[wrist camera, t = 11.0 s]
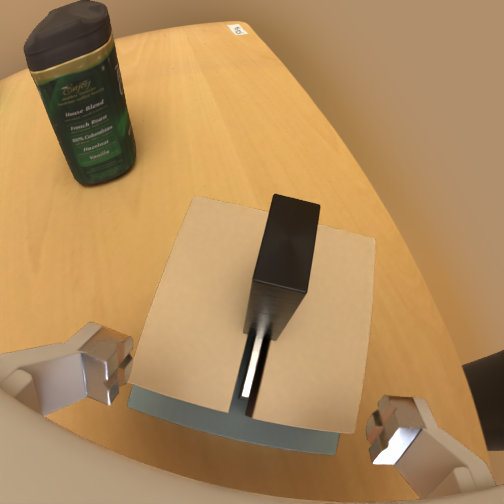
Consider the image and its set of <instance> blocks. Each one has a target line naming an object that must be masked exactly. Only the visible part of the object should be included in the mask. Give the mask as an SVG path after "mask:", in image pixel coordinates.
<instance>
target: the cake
mask: <svg viewBox="0 0 504 504" xmlns="http://www.w3.org/2000/svg"><path fill="white" fill-rule="evenodd" d="M268 214H269V212H268V211H264V210H259V209H255V208H250V207H246V206H242V205H237V204H233V203H228V202H224V201H219V200H214V199H210V198H205V197H200V196H195V195H194V197H193V199H192V201H191V204H190V206H189V209H188V211H187V213H186V216H185V218H184V221H183V223H182V226H181V228H180V231H179V233H178V236H177V238H176V241H175V243H174V246H173V248H172V251H171V253H170V256H169V258H168V261H167V264H166V266H165V269H164V272H163V274H162V277H161V280H160V282H159V285H158V288H157V291H156V293H155V296H154V299H153V302H152V305H151V307H150V310H149V313H148V316H147V319H146V322H145V325H144V328H143V331H142V334H141V337H140V340H139V343H138V346H137V349H136V352H135V355H134V358H133V366H132V371H131V374H130V377H129V379H128V381H127V382H128V383H131V384H133V387H132V390H131V394H130V397H129V401H128V404H127V407H129V408H131V409H134V410H137V411H139V412H142V413H145V414H148V415H151V416H154V417H156V418H159V419H162V420H166V421H169V422H172V423H175V424H178V425H181V426H185V427H188V428H192V429H195V430H199V431H202V432H206V433H210V434H214V435H218V436H222V437H226V438H230V439H234V440H239V441H243V442H248V443H253V444H258V445H263V446H268V447H274V448H280V449H286V450H293V451H300V452H307V453H315V454H324V455H335V453H336V449H337V445H338V440H339V435H340V433H346V434H354V433H355V428H356V423H357V417H358V412H359V406H360V401H361V395H362V388H363V382H364V375H365V368H366V361H367V353H368V345H369V336H370V327H371V316H372V305H373V292H374V276H375V254H376V239H375V238H371V237H368V236H364V235H360V234H356V233H352V232H349V231H345V230H341V229H337V228H333V227H329V226H325V225H321V224H318V228H317V235H316V242H315V249H314V255H313V262H312V268H311V274H310V280H309V286H308V292H307V294H306V296H305V297H304V299H303V300H302V302H301V304H300V305H299V307H298V308H297V310H296V311H295V313H294V315H293V316H292V318H291V319H290V321H289V322H288V324H287V325H286V327H285V328H284V330H283V331H282V333H281V335H280V336H279V338H278V339H277V341H273V340H269V339H264V338H263V341H262V345H261V350H260V354H259V358H258V363H257V367H256V371H255V375H254V379H253V383H252V388H251V392H250V396H249V398H247V399H246V400H244V401H241V400H238V397H239V393H240V389H241V385H242V381H243V377H244V373H245V369H246V365H247V361H248V357H249V353H250V348H251V344H252V340H253V336H252V335H248V334H244V333H243V327H244V322H245V316H246V310H247V305H248V299H249V293H250V288H251V282H252V277H253V273H254V269H255V265H256V262H257V258H258V254H259V250H260V246H261V242H262V238H263V234H264V230H265V226H266V222H267V218H268Z"/></svg>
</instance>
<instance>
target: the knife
mask: <svg viewBox="0 0 504 504" xmlns="http://www.w3.org/2000/svg"><path fill="white" fill-rule="evenodd" d="M319 214H320V205H319V204H315V203H311V202H307V201H303V200H299V199H295V198H291V197H286V196H282V195H278V194H274V195H273V198H272V202H271V206H270V210H269V214H268V218H267V222H266V226H265V230H264V234H263V238H262V242H261V246H260V250H259V254H258V258H257V262H256V265H255V269H254V273H253V277H252V282H251V288H250V293H249V299H248V305H247V310H246V316H245V322H244V327H243V333H244V334H248V335H252V336H253V340H252V344H251V348H250V353H249V357H248V361H247V365H246V369H245V373H244V377H243V381H242V385H241V389H240V393H239V397H238V400H241V401H244V400H246V399H247V398H249V396H250V392H251V388H252V383H253V379H254V375H255V371H256V367H257V363H258V358H259V354H260V350H261V345H262V341H263V338H264V339H269V340H273V341H277V339H278V338H279V336H280V335H281V333H282V331H283V330H284V328H285V327H286V325H287V324H288V322H289V321H290V319H291V318H292V316H293V315H294V313H295V311H296V310H297V308H298V307H299V305H300V304H301V302H302V300H303V299H304V297H305V296H306V294H307V292H308V286H309V280H310V274H311V268H312V262H313V255H314V249H315V242H316V235H317V228H318V221H319Z"/></svg>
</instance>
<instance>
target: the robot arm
mask: <svg viewBox="0 0 504 504" xmlns="http://www.w3.org/2000/svg"><path fill="white" fill-rule="evenodd" d="M132 349H133V339H132V337H131V336H128V335H125V334H123V333H120V332H118V331H115V330H112V329H110V328H107V327H104V326H102V325H99V324H97V323H94V322H89V323H87V324H86V325H85V326H84V327H83V328H82V329H80V330H79V331H78V332H77V333H76V334H75V335H74V336H72V337H71V338H70V339H69V340H68V341H67V342H66V343H64V344H62V343H55V344H50V345H45V346H40V347H35V348H30V349H25V350H20V351H14V352H9V353H3V354H0V504H504V484H502V485H498V486H497V485H496V483H495V481H494V478H493V476H492V474H491V472H490V470H489V468H488V465H487V463H486V462H485V461H483V460H482V459H481V458H479V457H478V456H477V455H476V454H474V453H473V452H472V451H470V450H469V449H468V448H466V447H465V446H464V445H463V444H461V443H460V442H459V441H457V440H456V439H455V438H454V437H452V436H451V435H450V434H448V433H447V432H446V431H445V430H443V429H439V428H438V426H437V423H436V421H435V419H434V417H433V415H432V412H431V410H430V408H429V406H428V404H427V402H426V400H425V399H424V398H423V397H401V396H391V395H384V396H383V397H382V398H381V399H380V400H379V402H378V407H379V409H378V410H376V411H375V412H373V413H372V414H371V416H370V418H369V420H368V422H367V426H366V437H367V440H368V441H369V442H370V443H371V444H372V445H371V447H370V448H369V452H370V457H371V462H372V464H384V465H394V467H395V468H396V469H397V470H398V472H399V473H400V474H401V475H402V476H403V478H404V479H405V480H406V481H407V483H408V484H409V485H410V486H411V487H412V489H413V490H414V491H415V492H416V493H417V495H418V496H419V497H420V498H421V499H417V500H406V501H390V502H333V501H317V500H305V499H295V498H286V497H279V496H272V495H265V494H259V493H253V492H248V491H242V490H237V489H233V488H228V487H223V486H219V485H215V484H211V483H207V482H203V481H199V480H196V479H192V478H188V477H185V476H182V475H178V474H175V473H172V472H169V471H166V470H162V469H159V468H157V467H154V466H151V465H148V464H145V463H142V462H140V461H137V460H134V459H132V458H129V457H127V456H124V455H122V454H119V453H117V452H115V451H112V450H110V449H108V448H105V447H103V446H101V445H99V444H96V443H94V442H92V441H90V440H88V439H86V438H84V437H82V436H80V435H78V434H76V433H74V432H72V431H70V430H68V429H66V428H64V427H62V426H60V425H59V424H57V423H55V422H53V421H51V420H50V419H48V418H46V417H44V416H45V415H48V414H50V413H52V412H55V411H57V410H59V409H62V408H64V407H66V406H69V405H71V404H73V403H76V402H78V401H80V400H82V399H85V398H86V396H87V397H89V398H92V399H94V400H96V401H99V402H101V403H104V404H106V405H109V406H110V405H111V404H112V402H113V401H114V399H115V398H116V397H117V395H118V394H119V387H120V386H123V385H125V384H126V382H127V381H128V379H129V377H130V374H131V371H132V366H133V358H132V357H131V355H130V353H129V352H130V351H131V350H132Z"/></svg>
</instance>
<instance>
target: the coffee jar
mask: <svg viewBox="0 0 504 504" xmlns="http://www.w3.org/2000/svg"><path fill="white" fill-rule="evenodd" d="M24 53H25V56H26V61H27V65H28V68H29V71H30V73H31V76H32V78H33V80H34V82H35V84H36V87H37V89H38V91H39V94H40V96H41V99H42V101H43V104H44V106H45V109H46V112H47V114H48V117H49V119H50V122H51V124H52V127H53V129H54V132H55V134H56V136H57V139H58V141H59V144H60V146H61V149H62V151H63V153H64V156H65V158H66V161H67V163H68V165H69V167H70V169H71V172H72V174H73V176H74V178H75V179H76V180H77V181H78V182H79V183H82V184H88V185H89V184H98V183H102V182H106V181H109V180H111V179H114V178H116V177H118V176H119V175H121V174H123V173H124V172H126V171H127V170H128V169H129V168H130V167H131V166H132V165H133V163H134V161H135V156H136V147H135V140H134V135H133V131H132V127H131V122H130V118H129V114H128V109H127V104H126V99H125V94H124V89H123V83H122V78H121V73H120V68H119V63H118V58H117V53H116V48H115V43H114V39H113V34H112V28H111V24H110V18H109V15H108V10H107V7H106V6H105V5H104V4H102V3H99V2H95V1H90V0H80V1H77V2H74V3H71V4H69V5H65V6H63V7H60V8H57V9H54V10H52V11H50V12H49V14H48V16H47V17H45V19H43V20H42V21H41V22H40V23H39V24H38V25H37V26H36V28H35V29H34V30H33V31H32V33H31V34H30V36H29V38H28V39H27V41H26V42H25V45H24Z"/></svg>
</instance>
